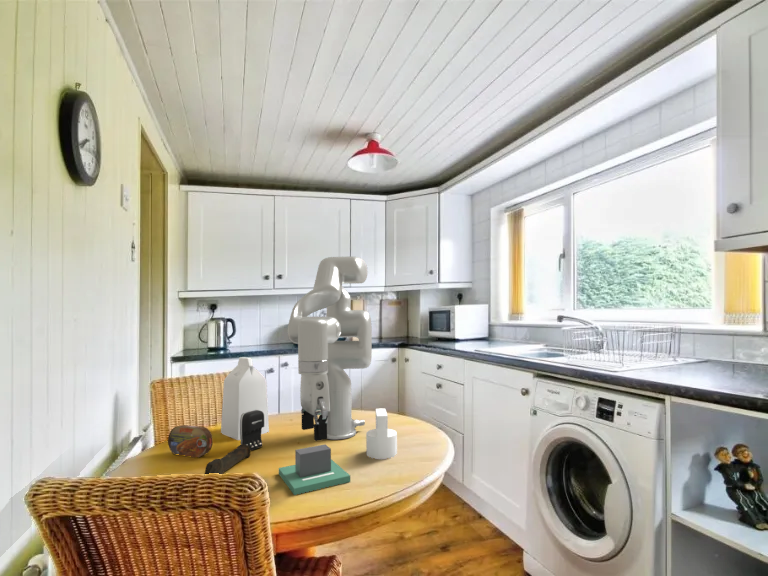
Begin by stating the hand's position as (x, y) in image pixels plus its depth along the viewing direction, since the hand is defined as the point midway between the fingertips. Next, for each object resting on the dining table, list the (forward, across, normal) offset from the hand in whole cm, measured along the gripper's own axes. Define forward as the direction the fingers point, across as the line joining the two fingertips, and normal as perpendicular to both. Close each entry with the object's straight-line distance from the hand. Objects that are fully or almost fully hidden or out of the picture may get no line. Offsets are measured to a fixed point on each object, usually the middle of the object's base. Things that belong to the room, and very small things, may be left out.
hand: (313, 434), depth 102 cm
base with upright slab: (+11, +5, -22) cm, 26 cm away
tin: (+11, +34, +26) cm, 45 cm away
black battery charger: (+11, +29, +10) cm, 33 cm away
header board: (+11, -1, 0) cm, 11 cm away
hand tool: (+11, +16, +18) cm, 27 cm away
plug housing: (+9, -1, 0) cm, 9 cm away
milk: (+12, +48, +8) cm, 50 cm away
